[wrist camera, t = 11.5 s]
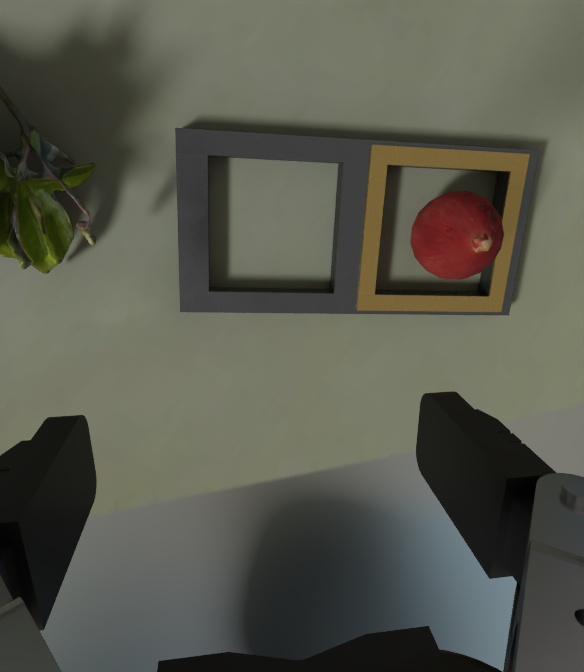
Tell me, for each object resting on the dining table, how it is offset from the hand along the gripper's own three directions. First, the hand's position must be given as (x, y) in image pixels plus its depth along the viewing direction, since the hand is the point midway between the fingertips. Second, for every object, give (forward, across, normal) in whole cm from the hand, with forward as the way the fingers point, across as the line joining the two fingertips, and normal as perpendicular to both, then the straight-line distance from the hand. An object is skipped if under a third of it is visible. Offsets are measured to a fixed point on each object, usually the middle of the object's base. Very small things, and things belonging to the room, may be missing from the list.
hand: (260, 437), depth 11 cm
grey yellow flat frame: (+25, -9, -2) cm, 26 cm away
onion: (+25, -15, -2) cm, 29 cm away
